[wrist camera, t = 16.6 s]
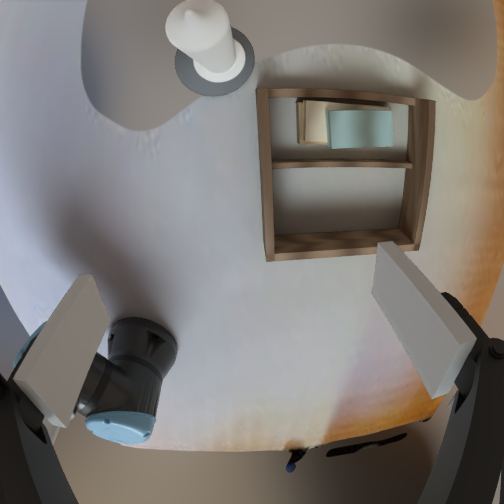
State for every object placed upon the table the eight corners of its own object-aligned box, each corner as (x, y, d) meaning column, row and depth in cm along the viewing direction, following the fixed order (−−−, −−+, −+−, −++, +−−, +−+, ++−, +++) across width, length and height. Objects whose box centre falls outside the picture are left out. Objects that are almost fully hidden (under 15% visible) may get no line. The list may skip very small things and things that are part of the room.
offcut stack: (297, 142, 42) (305, 149, 36) (295, 100, 39) (304, 100, 33) (384, 144, 42) (402, 151, 36) (385, 104, 39) (403, 107, 33)
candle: (250, 76, 36) (260, 48, 14) (200, 88, 37) (144, 79, 15) (239, 31, 33) (235, -45, 11) (189, 43, 33) (124, -13, 12)
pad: (178, 100, 38) (177, 100, 37) (173, 31, 33) (172, 30, 32) (256, 93, 38) (256, 93, 37) (252, 22, 33) (252, 21, 32)
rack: (263, 242, 49) (266, 261, 44) (255, 89, 38) (257, 88, 32) (403, 234, 49) (418, 250, 44) (414, 98, 38) (435, 100, 32)
